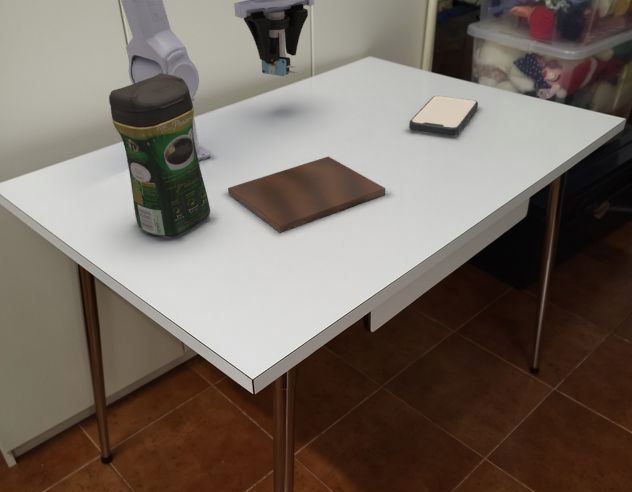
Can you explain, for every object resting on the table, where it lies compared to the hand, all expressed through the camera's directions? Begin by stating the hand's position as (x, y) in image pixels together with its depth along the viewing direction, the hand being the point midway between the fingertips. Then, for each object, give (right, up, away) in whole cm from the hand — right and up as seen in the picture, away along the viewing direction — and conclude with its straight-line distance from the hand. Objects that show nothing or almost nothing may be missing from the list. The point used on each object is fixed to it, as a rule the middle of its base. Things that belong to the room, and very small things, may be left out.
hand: (278, 57), depth 109 cm
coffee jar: (-13, -34, -24) cm, 44 cm away
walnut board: (+5, -29, -19) cm, 35 cm away
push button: (0, -2, +2) cm, 3 cm away
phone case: (+29, -10, +2) cm, 31 cm away
